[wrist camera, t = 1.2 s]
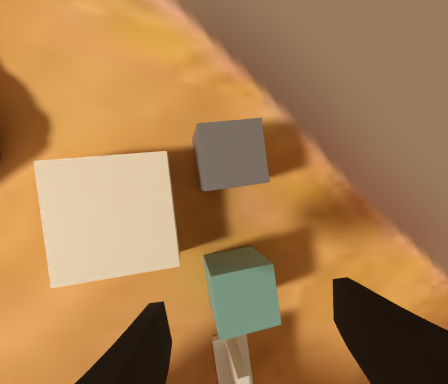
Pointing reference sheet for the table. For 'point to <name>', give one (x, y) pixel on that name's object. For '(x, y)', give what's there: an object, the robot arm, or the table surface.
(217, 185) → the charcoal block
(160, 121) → the table surface
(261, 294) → the teal block
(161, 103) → the table surface
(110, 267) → the cream base block
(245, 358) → the placard
